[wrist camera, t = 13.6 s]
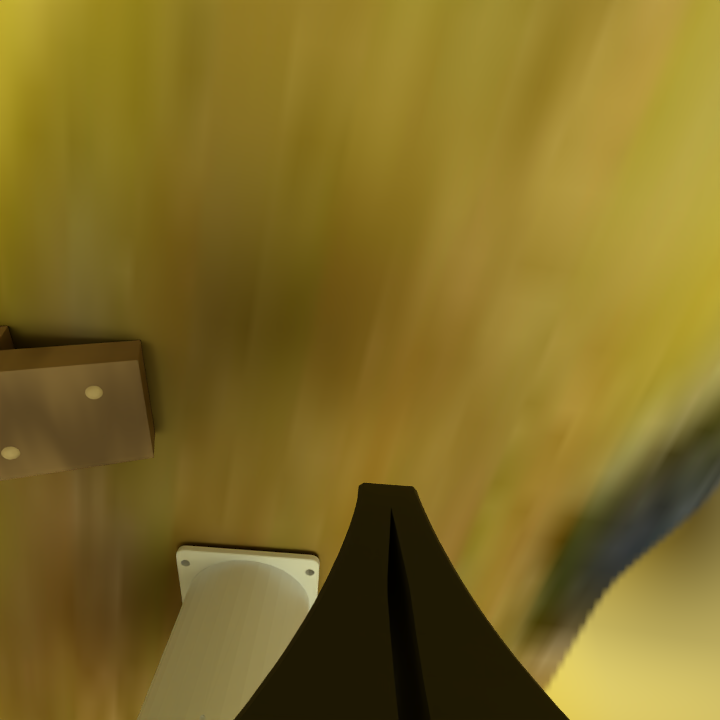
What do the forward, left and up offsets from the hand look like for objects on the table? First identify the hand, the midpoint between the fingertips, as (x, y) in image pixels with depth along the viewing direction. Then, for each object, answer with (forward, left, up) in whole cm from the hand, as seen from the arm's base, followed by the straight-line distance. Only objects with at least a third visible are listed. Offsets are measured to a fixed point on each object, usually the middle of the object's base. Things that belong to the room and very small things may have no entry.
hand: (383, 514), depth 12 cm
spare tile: (-3, +10, -9) cm, 14 cm away
